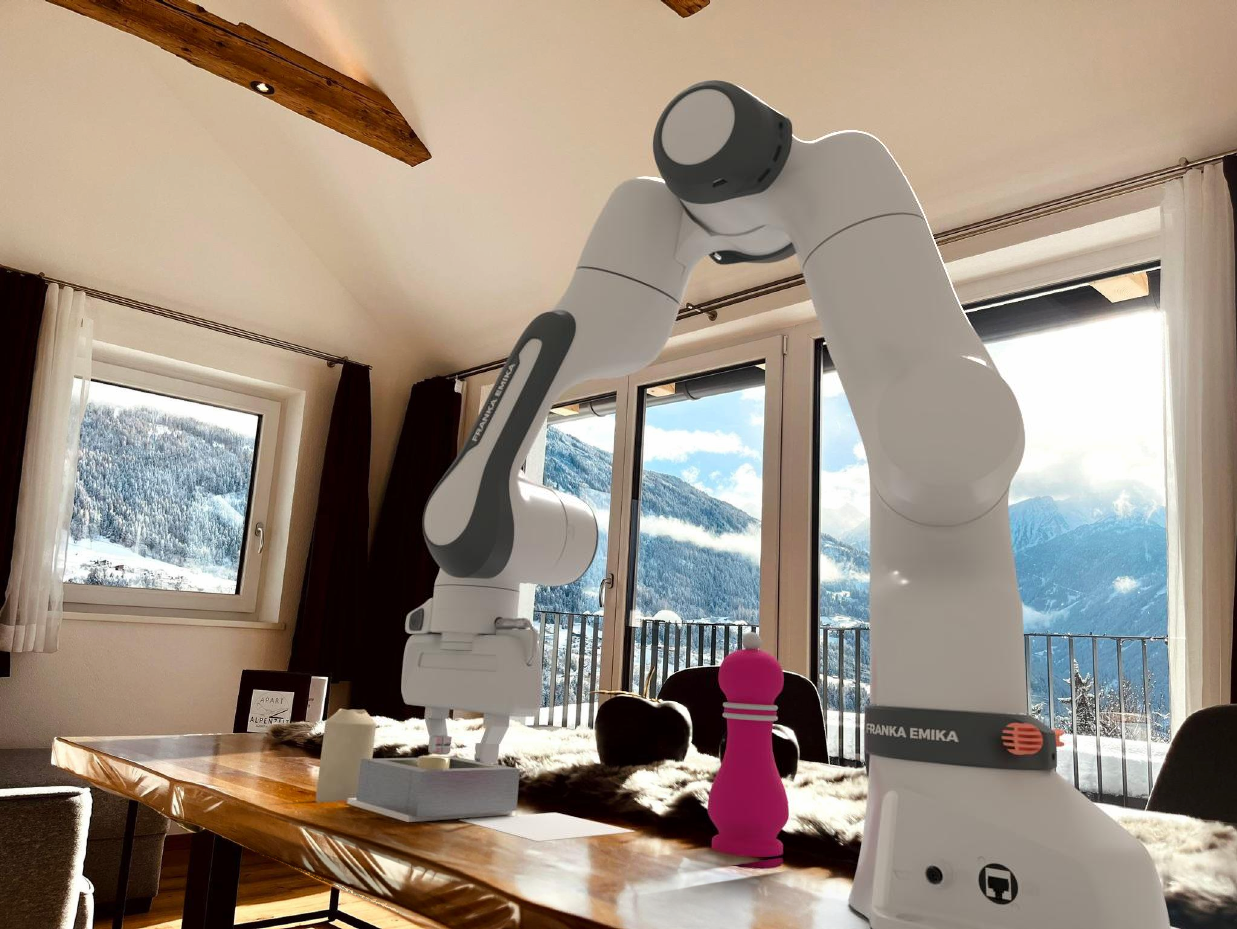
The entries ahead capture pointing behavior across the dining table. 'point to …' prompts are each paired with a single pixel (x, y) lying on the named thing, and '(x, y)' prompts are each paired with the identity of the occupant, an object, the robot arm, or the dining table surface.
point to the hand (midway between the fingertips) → (461, 758)
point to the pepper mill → (749, 759)
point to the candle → (344, 754)
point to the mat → (547, 826)
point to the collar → (438, 787)
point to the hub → (425, 763)
